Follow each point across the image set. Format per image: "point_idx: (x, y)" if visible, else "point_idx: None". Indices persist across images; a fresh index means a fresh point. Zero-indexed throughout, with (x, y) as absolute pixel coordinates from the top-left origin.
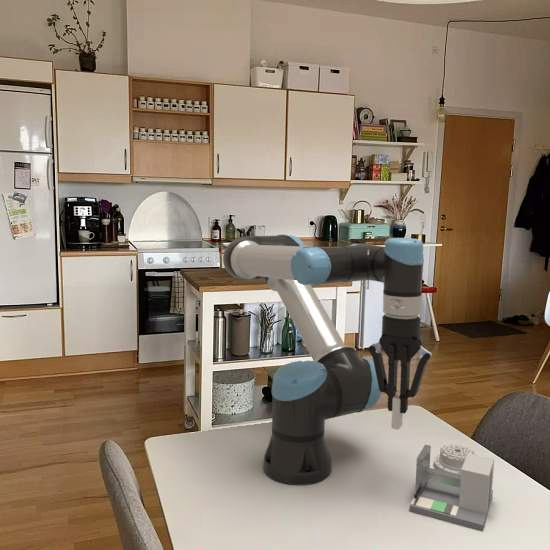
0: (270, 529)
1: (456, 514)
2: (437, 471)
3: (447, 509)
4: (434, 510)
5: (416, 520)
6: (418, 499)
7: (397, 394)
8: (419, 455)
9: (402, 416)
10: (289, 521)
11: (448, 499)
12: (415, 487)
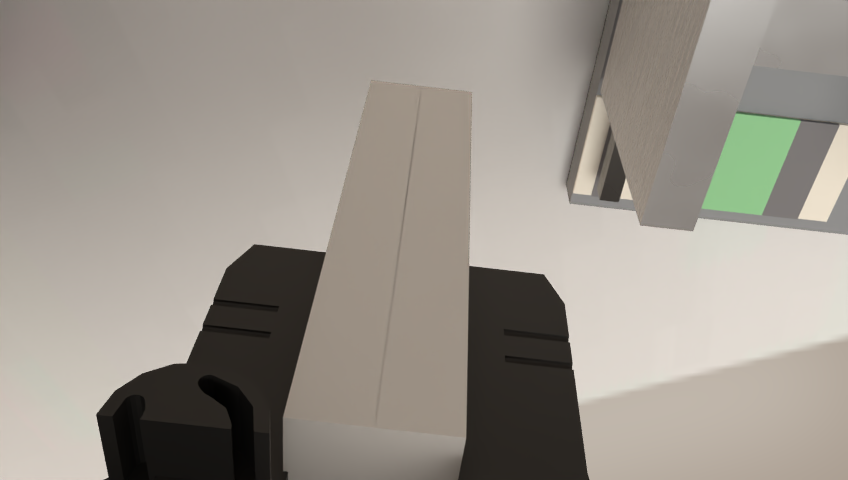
0: (56, 460)
1: (835, 200)
2: (799, 30)
3: (790, 183)
4: (710, 205)
5: (606, 244)
6: None
7: (318, 438)
8: (665, 171)
9: (470, 160)
10: (83, 407)
11: None
12: (604, 102)
